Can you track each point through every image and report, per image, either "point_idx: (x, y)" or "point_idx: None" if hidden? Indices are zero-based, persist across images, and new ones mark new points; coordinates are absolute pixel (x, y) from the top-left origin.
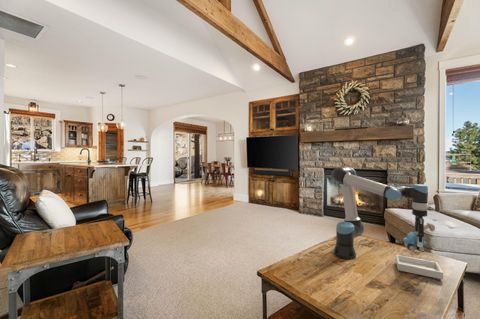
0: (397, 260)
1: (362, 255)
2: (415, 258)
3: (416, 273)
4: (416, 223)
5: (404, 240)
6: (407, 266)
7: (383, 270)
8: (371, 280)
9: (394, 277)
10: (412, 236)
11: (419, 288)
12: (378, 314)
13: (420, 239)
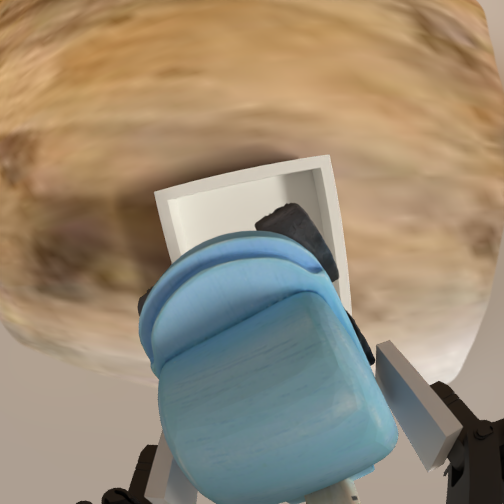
0: (211, 177)
1: (273, 7)
2: (342, 276)
3: None
4: None
5: (175, 262)
6: (169, 246)
7: (140, 127)
8: (27, 132)
9: (99, 192)
10: (164, 435)
11: (83, 295)
12: None
13: (147, 481)
